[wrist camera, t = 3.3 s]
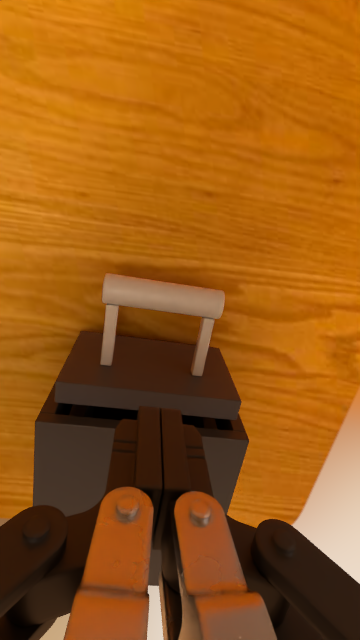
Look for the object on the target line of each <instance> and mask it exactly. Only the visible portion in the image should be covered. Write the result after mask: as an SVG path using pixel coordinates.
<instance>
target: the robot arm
mask: <svg viewBox="0 0 360 640" xmlns="http://www.w3.org/2000/svg"><path fill="white" fill-rule="evenodd" d="M151 542H152V550H161V559H162V564H161V569H160V573H159V590H160V602H161V612H162V625H163V637H164V640H360V584H359V583H358V582H356V581H355V580H354V579H353V578H352V577H351V576H349V574H347V573H346V572H345V571H344V570H343V569H342V568H340V567H339V566H338V565H337V564H336V563H335V562H333V561H332V560H331V559H330V558H329V557H327V555H325V554H324V553H323V552H322V551H321V550H320V549H318V548H317V547H316V546H315V545H314V544H313V543H311V542H310V541H309V540H308V539H307V538H306V537H305V536H303V535H302V534H301V533H300V532H299V531H298V530H296V529H295V528H294V527H293V526H291V525H290V524H288V523H286V522H284V521H281V520H277V519H268V520H265V521H263V522H261V523H260V524H259V525H258V527H257V528H254V527H252V526H249V525H246V524H243V523H241V522H238V521H236V520H234V519H232V518H230V517H229V516H228V515H226V514H225V513H224V510H223V508H222V506H221V505H220V504H219V502H218V501H217V500H216V499H215V498H214V496H213V491H212V486H211V481H210V476H209V471H208V467H207V462H206V459H205V452H204V449H203V442H202V437H201V435H200V433H199V432H198V431H197V429H196V428H195V427H194V425H185V424H183V423H182V415H181V410H178V409H168V408H160V410H159V408H158V407H147V406H139V409H138V415H137V420H130V419H122V421H121V422H120V423H119V424H118V425H117V427H116V428H115V434H114V440H113V447H112V453H111V460H110V466H109V473H108V479H107V486H106V491H105V494H104V496H103V497H102V499H101V500H100V501H99V502H98V504H96V505H95V506H94V507H92V508H91V509H89V510H87V511H85V512H82V513H78V514H74V515H70V516H66V517H65V515H64V514H63V512H62V511H60V510H59V509H58V508H55V507H53V506H49V505H38V506H33V507H30V508H27V509H25V510H23V511H22V512H20V513H19V514H17V515H16V516H14V517H13V518H12V519H10V520H9V521H7V522H6V523H5V524H3V525H2V526H0V640H39V639H40V638H41V637H42V636H43V635H44V634H45V633H46V632H47V630H48V629H49V628H50V627H51V626H52V625H53V623H54V622H55V620H56V619H57V617H60V616H63V615H66V614H68V613H70V617H69V621H68V625H67V628H66V632H65V637H64V640H147V627H148V626H147V625H148V613H149V594H148V577H149V564H150V551H151Z"/></svg>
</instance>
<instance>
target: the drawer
mask: <svg viewBox="0 0 360 640" xmlns="http://www.w3.org/2000/svg"><path fill="white" fill-rule="evenodd" d="M224 301H225V296H224V292H223V291H222V290H216V289H210V288H203V287H196V286H190V285H183V284H176V283H170V282H163V281H157V280H150V279H143V278H137V277H130V276H123V275H117V274H110V273H106V275H105V278H104V283H103V291H102V302H103V303H107V305H106V312H105V322H104V332H103V333H95V332H87V331H81V332H80V334H79V336H78V338H77V340H76V342H75V344H74V346H73V348H72V350H71V352H70V354H69V356H68V358H67V360H66V362H65V364H64V366H63V368H62V370H61V372H60V374H59V376H58V378H57V380H56V382H55V397H54V401H55V402H56V403H66V404H73V406H72V408H71V411H70V414H69V416H80V417H91V418H101V419H112V420H122V419H130V420H137V415H138V409H139V406H147V407H158V408H159V410H160V408H168V409H178V410H181V415H182V423H183V424H185V425H194V427H197V428H208V429H217V425H216V422H215V418H219V419H230V420H236V419H237V415H238V412H239V408H240V405H241V399H240V397H239V395H238V392H237V390H236V387H235V385H234V383H233V380H232V378H231V376H230V373H229V371H228V368H227V366H226V364H225V361H224V359H223V357H222V354H221V352H220V349H219V348H213V347H209V342H210V338H211V333H212V329H213V325H214V318H215V319H219V318H220V317H221V315H222V312H223V308H224ZM119 305H121V306H129V307H136V308H143V309H150V310H157V311H165V312H172V313H179V314H186V315H193V316H201V317H202V319H201V323H200V328H199V333H198V338H197V342H196V345H189V344H182V343H174V342H166V341H158V340H150V339H142V338H134V337H126V336H119V335H116V326H117V318H118V309H119Z"/></svg>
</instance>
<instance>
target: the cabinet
mask: <svg viewBox="0 0 360 640" xmlns="http://www.w3.org/2000/svg"><path fill="white" fill-rule="evenodd" d="M54 397H55V384H54V386H53V388H52V390H51V392H50V394H49V396H48V398H47V400H46V402H45V404H44V405H43V407H42V409H41V411H40V414H39V415H38V417H37V419H36V421H35V449H34V484H33V506H38V505H49V506H53V507H55V508H58V509H59V510H60V511H62V512H63V514H64V515H65V517H66V516H70V515H74V514H78V513H82V512H85V511H87V510H89V509H91V508H92V507H94V506H95V505H96V504H98V502H99V501H100V500H101V499H102V497H103V496H104V494H105V491H106V486H107V479H108V473H109V466H110V460H111V453H112V447H113V440H114V434H115V428H116V427H117V425H118V424H119V423H120V422H121V421H122V420H112V419H101V418H91V417H80V416H69V414H70V411H71V408H72V406H73V404H66V403H56V402H55V401H54ZM215 422H216V425H217V429H208V428H197V427H195V428H196V429H197V431H198V432H199V433H200V435H201V437H202V442H203V449H204V452H205V459H206V462H207V467H208V471H209V476H210V481H211V486H212V491H213V496H214V498H215V499H216V500H217V501H218V502H219V504H220V505H221V506H222V508H223V510H224V513H225V514H226V515H227V512H228V509H229V505H230V502H231V499H232V496H233V492H234V489H235V486H236V482H237V479H238V476H239V473H240V469H241V466H242V463H243V460H244V456H245V453H246V450H247V446H248V443H249V439H248V437H247V434H246V432H245V429H244V426H243V424H242V421H241V419H240V416H239V413H238V415H237V419H236V420H230V419H219V418H215ZM161 564H162V559H161V550H152V542H151V551H150V564H149V577H148V585H153V586H159V573H160V569H161Z"/></svg>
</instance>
